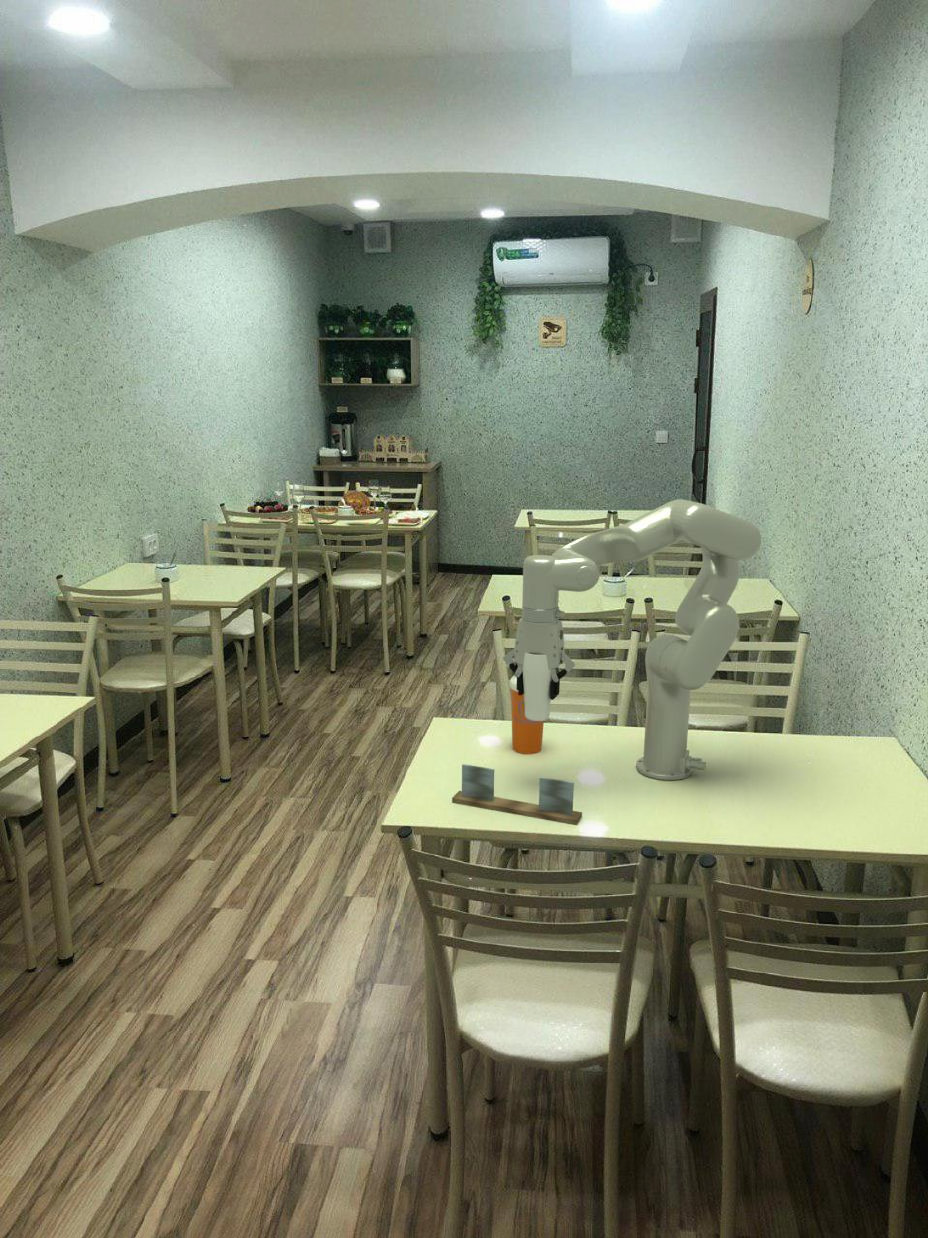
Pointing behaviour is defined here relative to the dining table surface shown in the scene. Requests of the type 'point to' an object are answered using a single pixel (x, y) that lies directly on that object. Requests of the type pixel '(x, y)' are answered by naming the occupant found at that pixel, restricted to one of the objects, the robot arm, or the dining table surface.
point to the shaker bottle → (524, 725)
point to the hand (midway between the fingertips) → (537, 695)
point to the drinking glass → (536, 687)
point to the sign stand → (551, 801)
